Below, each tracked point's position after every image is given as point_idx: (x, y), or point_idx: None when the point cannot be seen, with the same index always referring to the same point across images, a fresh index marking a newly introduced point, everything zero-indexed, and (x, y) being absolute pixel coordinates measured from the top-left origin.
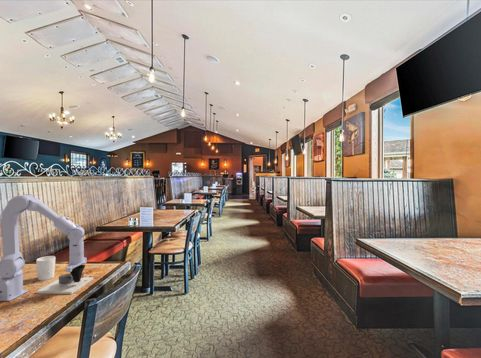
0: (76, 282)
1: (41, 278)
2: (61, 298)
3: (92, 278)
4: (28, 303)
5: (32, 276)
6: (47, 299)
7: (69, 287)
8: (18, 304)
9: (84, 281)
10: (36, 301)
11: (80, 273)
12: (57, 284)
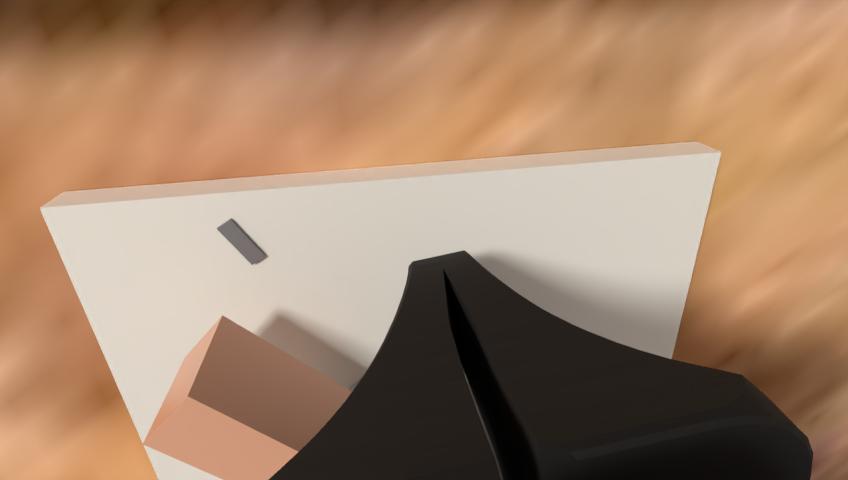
0: (352, 332)
1: None
2: (814, 184)
3: (78, 199)
4: (838, 423)
5: None
6: (793, 327)
7: (545, 300)
8: (831, 477)
9: (283, 235)
10: (813, 392)
11: (498, 336)
12: None
